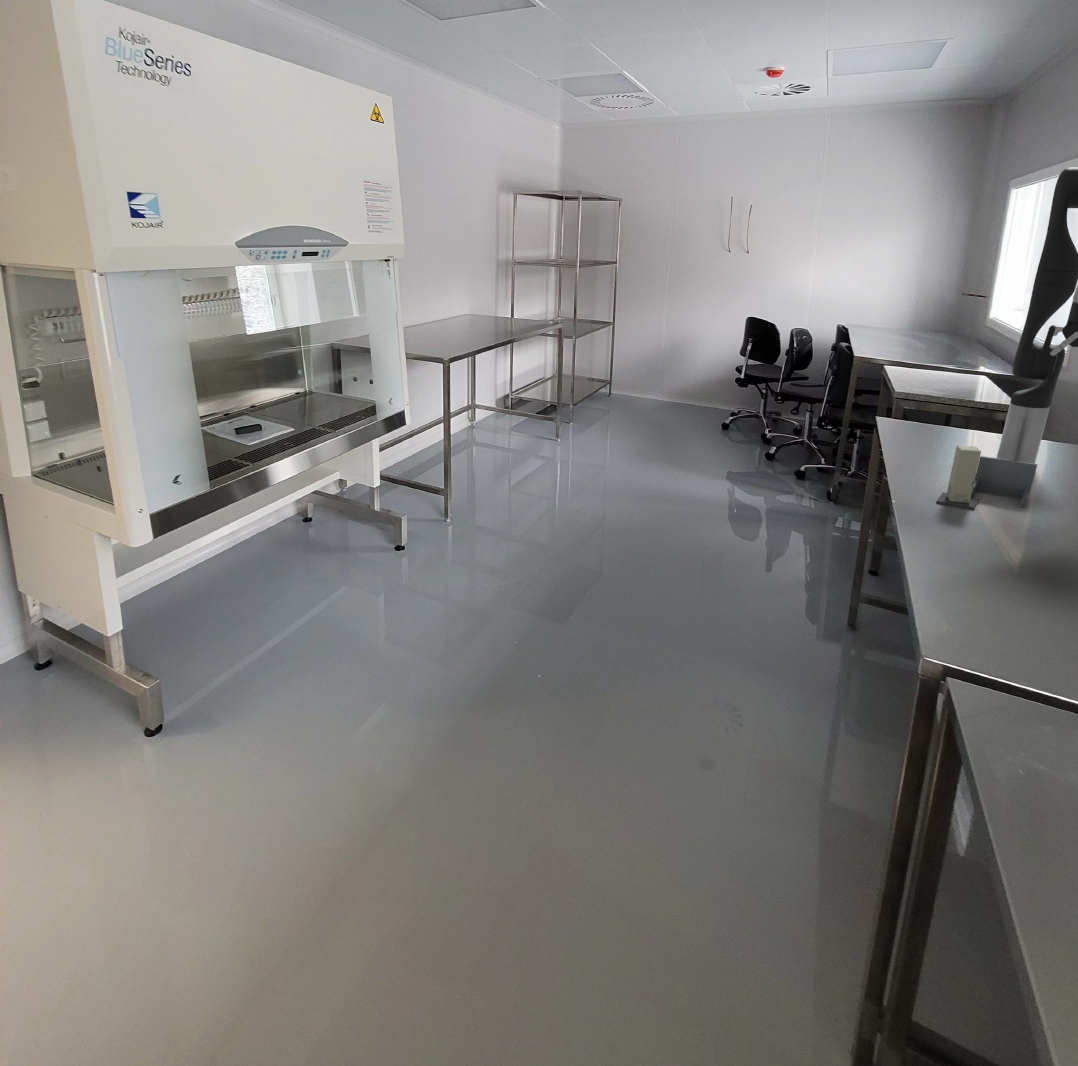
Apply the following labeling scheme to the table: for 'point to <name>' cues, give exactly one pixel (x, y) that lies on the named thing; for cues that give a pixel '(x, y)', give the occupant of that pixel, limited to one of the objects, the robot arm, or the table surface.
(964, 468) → the box
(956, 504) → the mat
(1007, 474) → the rack bay
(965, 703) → the table surface
